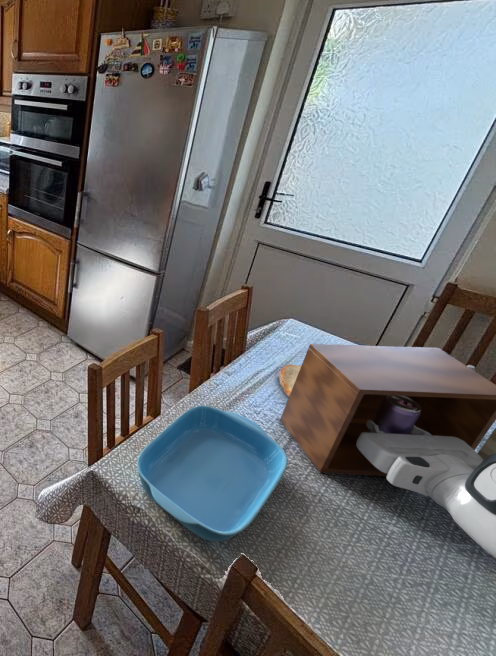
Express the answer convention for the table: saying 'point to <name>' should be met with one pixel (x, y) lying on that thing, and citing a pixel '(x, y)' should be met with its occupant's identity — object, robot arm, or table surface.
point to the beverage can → (397, 414)
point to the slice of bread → (288, 377)
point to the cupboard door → (488, 446)
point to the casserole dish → (212, 471)
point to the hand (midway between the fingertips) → (387, 423)
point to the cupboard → (381, 399)
